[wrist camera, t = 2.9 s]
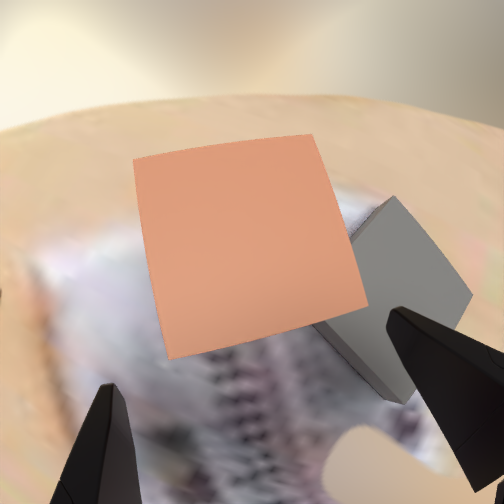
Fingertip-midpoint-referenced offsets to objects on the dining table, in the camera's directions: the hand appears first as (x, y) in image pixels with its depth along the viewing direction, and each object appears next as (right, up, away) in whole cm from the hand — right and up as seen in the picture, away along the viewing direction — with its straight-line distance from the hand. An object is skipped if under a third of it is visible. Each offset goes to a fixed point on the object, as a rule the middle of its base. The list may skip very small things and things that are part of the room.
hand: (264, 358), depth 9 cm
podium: (+9, 0, +12) cm, 15 cm away
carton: (-3, 0, +10) cm, 11 cm away
